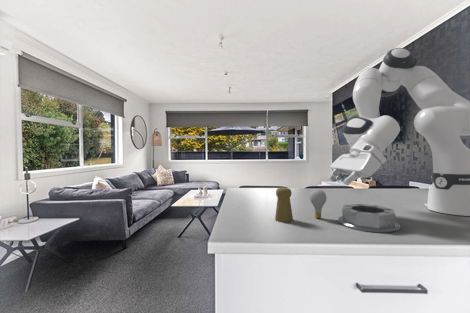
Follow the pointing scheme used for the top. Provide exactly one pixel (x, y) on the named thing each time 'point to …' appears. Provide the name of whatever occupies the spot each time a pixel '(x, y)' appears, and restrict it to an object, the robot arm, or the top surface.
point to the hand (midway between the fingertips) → (337, 181)
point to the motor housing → (369, 218)
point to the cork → (283, 205)
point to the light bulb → (318, 201)
